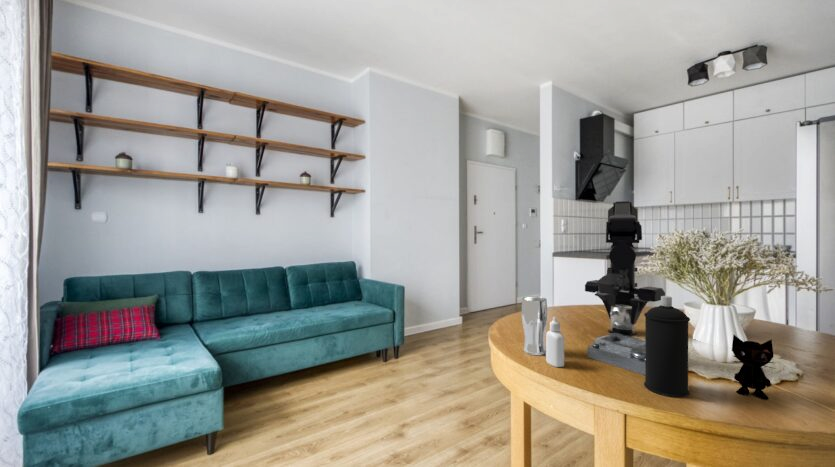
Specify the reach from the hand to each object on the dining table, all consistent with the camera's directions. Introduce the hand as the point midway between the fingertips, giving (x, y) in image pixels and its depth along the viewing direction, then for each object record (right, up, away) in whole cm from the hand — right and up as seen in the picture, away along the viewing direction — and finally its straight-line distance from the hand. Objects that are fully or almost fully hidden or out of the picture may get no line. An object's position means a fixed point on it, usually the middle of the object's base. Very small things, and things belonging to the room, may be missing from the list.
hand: (622, 322), depth 101 cm
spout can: (-1, -1, -1) cm, 2 cm away
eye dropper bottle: (-20, -10, -4) cm, 22 cm away
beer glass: (-22, -10, +5) cm, 25 cm away
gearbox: (+1, -9, -3) cm, 10 cm away
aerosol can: (-1, -10, -20) cm, 22 cm away
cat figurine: (+15, -10, -23) cm, 29 cm away
